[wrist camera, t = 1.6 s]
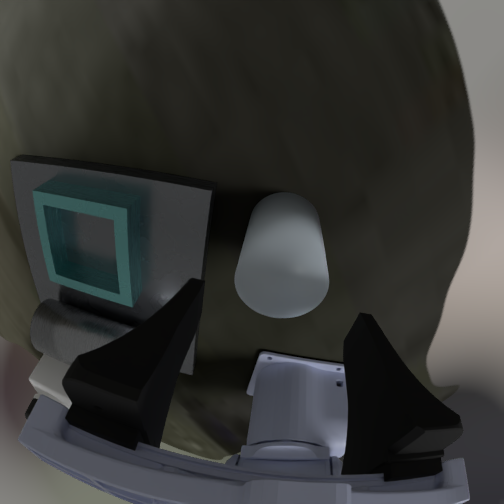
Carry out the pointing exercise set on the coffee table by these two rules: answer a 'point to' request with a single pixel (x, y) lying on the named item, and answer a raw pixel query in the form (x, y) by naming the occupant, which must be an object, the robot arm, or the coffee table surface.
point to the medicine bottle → (49, 381)
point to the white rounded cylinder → (283, 258)
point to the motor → (107, 248)
